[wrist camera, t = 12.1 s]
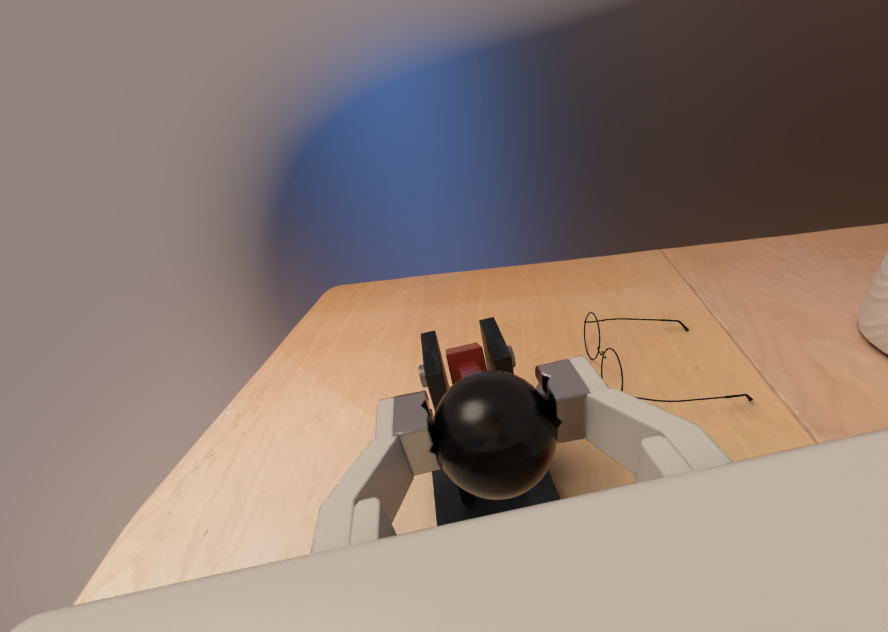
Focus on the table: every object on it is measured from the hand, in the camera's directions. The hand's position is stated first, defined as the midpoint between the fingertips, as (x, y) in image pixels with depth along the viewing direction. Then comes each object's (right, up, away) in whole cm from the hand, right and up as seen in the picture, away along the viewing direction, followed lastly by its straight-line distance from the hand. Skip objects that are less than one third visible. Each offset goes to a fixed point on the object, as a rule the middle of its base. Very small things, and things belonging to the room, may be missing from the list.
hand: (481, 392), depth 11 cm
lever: (+1, -3, +5) cm, 6 cm away
